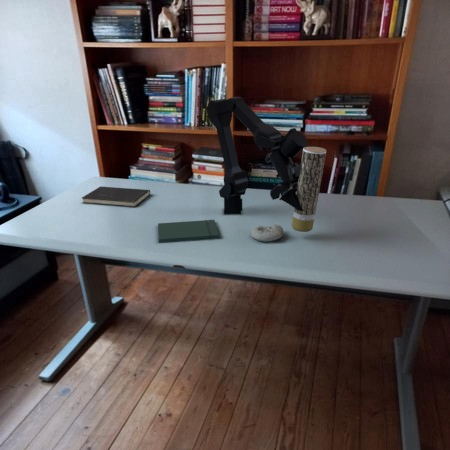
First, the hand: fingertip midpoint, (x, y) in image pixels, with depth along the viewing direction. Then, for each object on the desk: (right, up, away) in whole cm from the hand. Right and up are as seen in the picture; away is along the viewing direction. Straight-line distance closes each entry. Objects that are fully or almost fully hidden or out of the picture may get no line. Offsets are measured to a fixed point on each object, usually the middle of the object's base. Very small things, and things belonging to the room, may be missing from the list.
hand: (308, 208), depth 132 cm
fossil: (-12, -8, +7) cm, 16 cm away
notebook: (-39, -6, +11) cm, 41 cm away
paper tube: (-1, -6, +5) cm, 7 cm away
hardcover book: (-71, +13, +42) cm, 83 cm away
